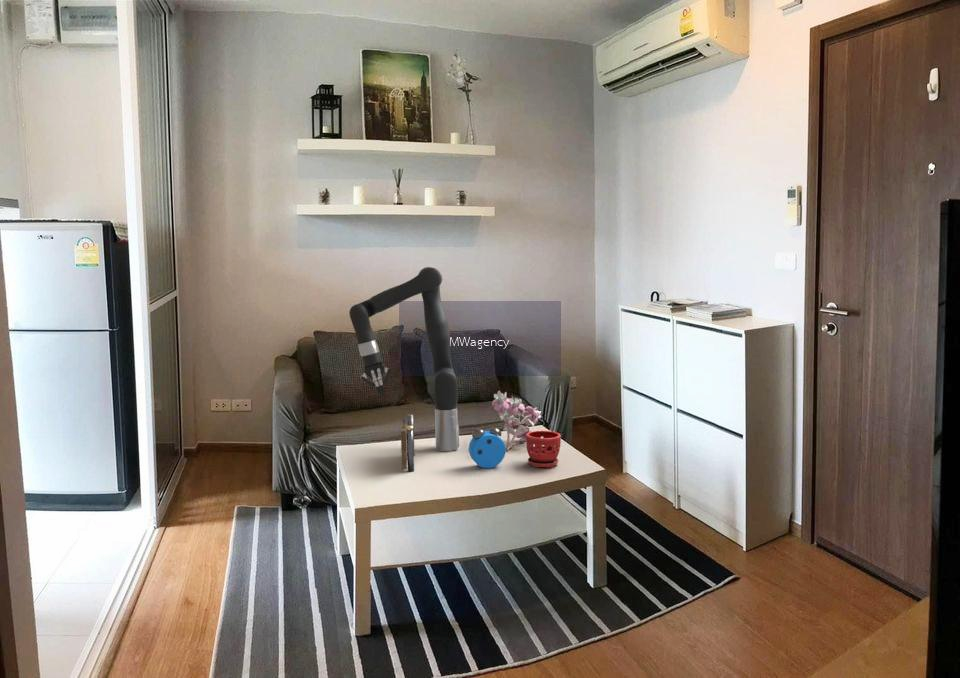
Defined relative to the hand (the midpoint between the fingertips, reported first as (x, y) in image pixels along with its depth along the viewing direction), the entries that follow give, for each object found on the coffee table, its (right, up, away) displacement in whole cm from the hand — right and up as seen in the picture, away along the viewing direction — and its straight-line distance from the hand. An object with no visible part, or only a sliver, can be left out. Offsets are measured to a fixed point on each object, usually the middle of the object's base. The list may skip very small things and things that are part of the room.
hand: (381, 394), depth 283 cm
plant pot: (+63, -26, -11) cm, 69 cm away
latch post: (+13, -27, -16) cm, 34 cm away
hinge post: (+12, -25, +2) cm, 27 cm away
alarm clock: (+42, -27, -13) cm, 51 cm away
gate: (+10, -25, -9) cm, 29 cm away
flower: (+55, -22, +17) cm, 61 cm away
